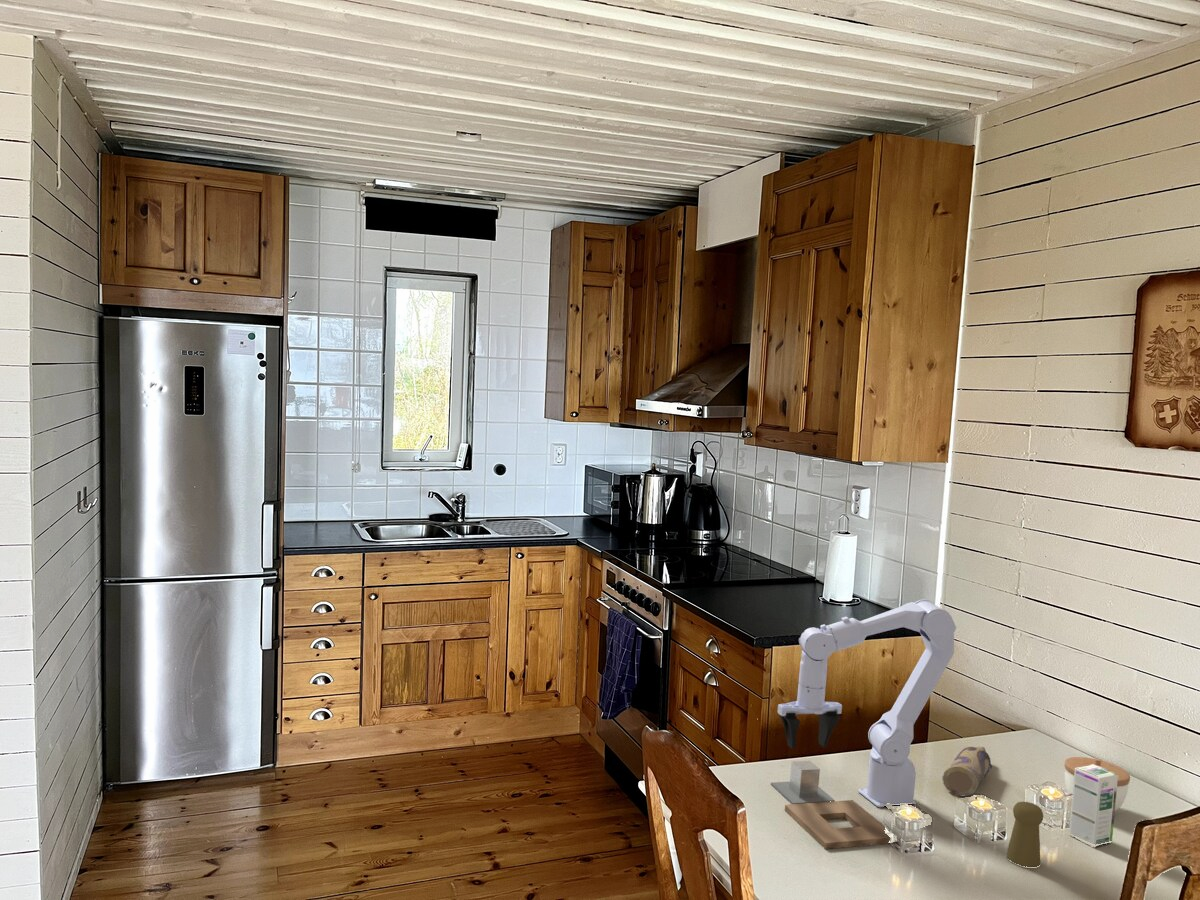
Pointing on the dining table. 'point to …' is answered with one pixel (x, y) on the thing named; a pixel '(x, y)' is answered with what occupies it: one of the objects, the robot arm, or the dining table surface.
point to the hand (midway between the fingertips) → (806, 746)
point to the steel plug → (804, 778)
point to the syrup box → (1093, 804)
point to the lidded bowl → (1083, 761)
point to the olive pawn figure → (1025, 835)
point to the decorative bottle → (967, 771)
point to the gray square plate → (794, 799)
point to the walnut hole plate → (829, 837)
